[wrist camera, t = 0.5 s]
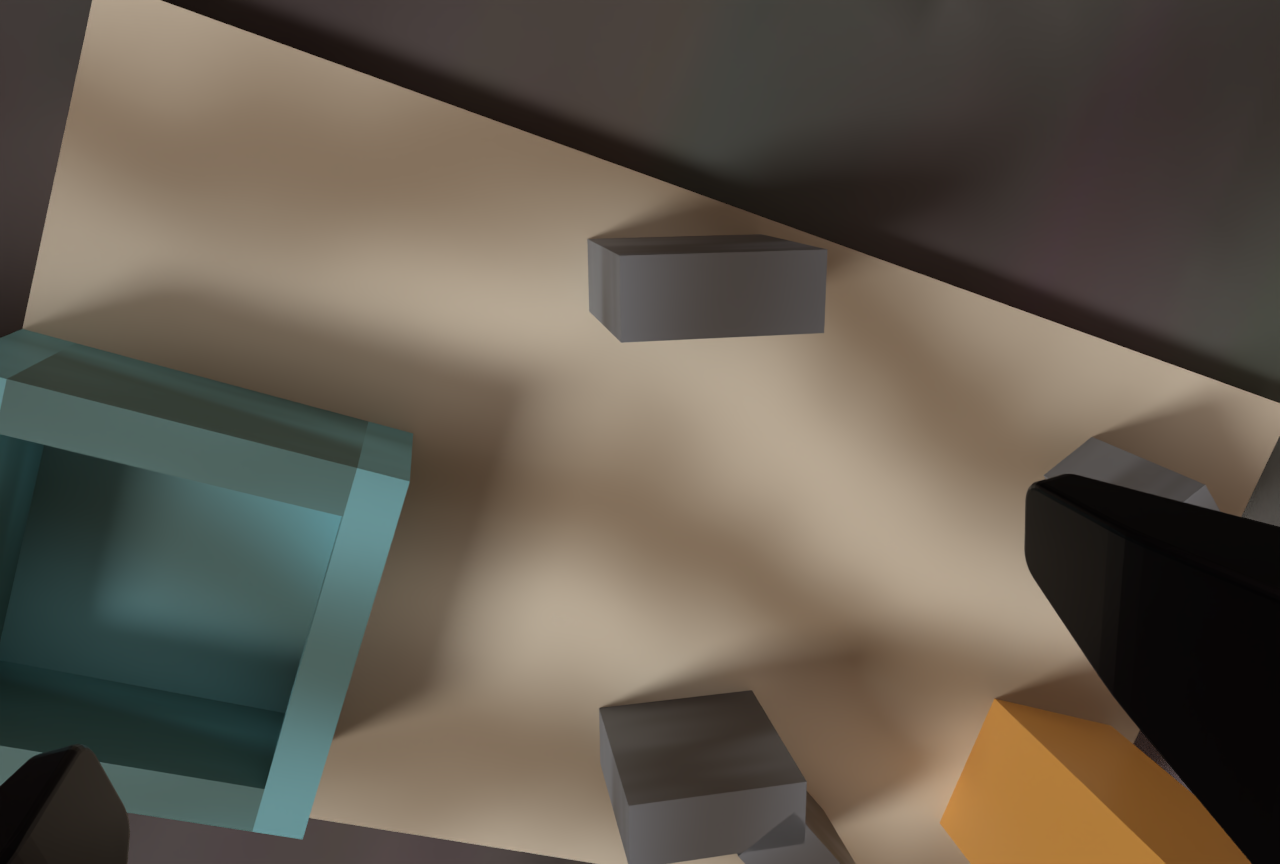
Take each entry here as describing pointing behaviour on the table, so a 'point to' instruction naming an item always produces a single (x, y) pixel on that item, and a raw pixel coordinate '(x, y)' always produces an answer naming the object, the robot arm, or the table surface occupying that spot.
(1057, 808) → the plug block
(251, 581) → the board
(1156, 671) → the robot arm
